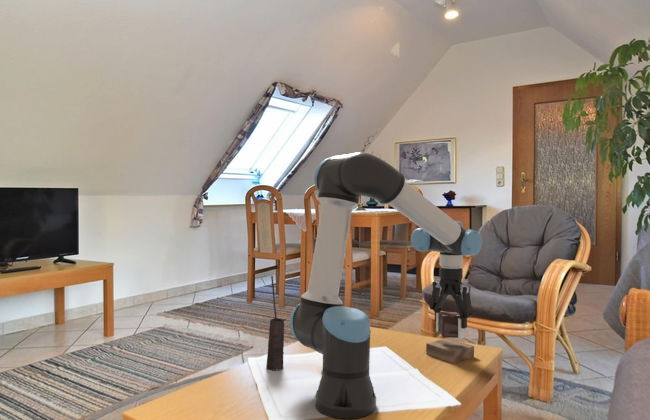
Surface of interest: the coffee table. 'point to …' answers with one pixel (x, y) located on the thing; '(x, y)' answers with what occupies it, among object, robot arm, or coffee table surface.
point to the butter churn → (275, 341)
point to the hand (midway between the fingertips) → (450, 334)
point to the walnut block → (450, 350)
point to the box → (449, 324)
